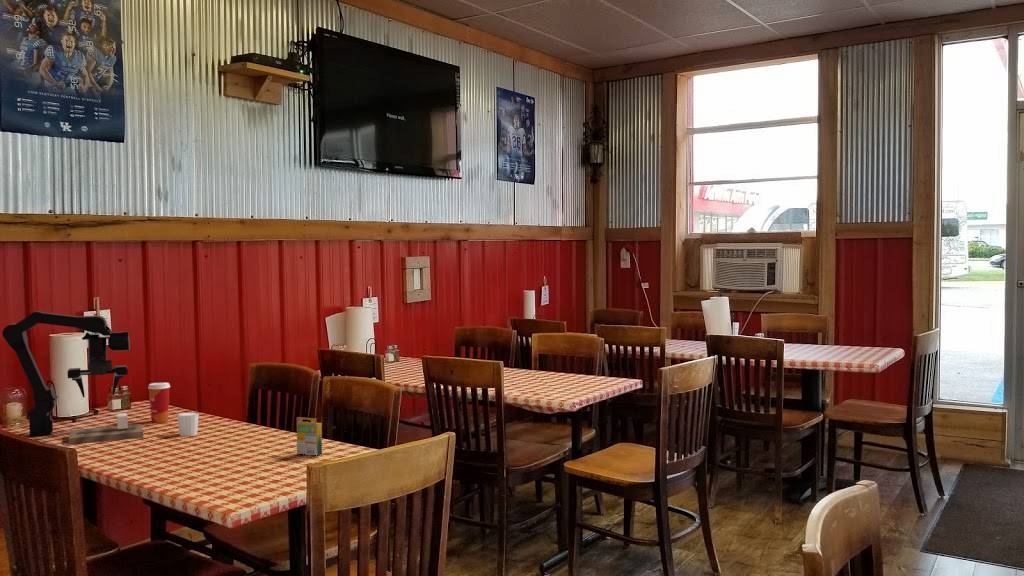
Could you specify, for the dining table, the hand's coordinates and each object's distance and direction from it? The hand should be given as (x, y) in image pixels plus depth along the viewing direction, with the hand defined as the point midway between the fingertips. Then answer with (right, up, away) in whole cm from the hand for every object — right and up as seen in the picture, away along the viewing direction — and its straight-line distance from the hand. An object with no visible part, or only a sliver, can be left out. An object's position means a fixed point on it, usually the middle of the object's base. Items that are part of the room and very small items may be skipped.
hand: (98, 396), depth 286 cm
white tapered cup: (+34, -12, -7) cm, 37 cm away
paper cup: (+15, -12, +15) cm, 24 cm away
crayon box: (+83, -13, -35) cm, 91 cm away
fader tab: (+12, -10, -8) cm, 18 cm away
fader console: (+8, -12, -10) cm, 18 cm away
